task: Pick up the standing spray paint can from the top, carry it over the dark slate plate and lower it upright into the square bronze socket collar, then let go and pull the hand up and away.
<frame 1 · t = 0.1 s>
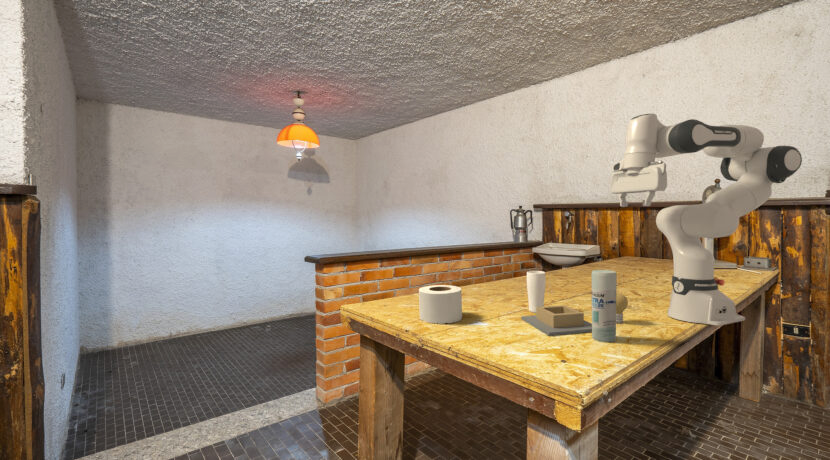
hand: (634, 206, 120), 39 cm above the table, tool pointing down, fingers open, 8 cm apart
drinking glass: (536, 311, 138), on the table
spray paint can: (603, 339, 108), on the table
toilet paper roll: (440, 318, 133), on the table
light bulb: (616, 322, 123), on the table
socket: (559, 324, 121), on the table
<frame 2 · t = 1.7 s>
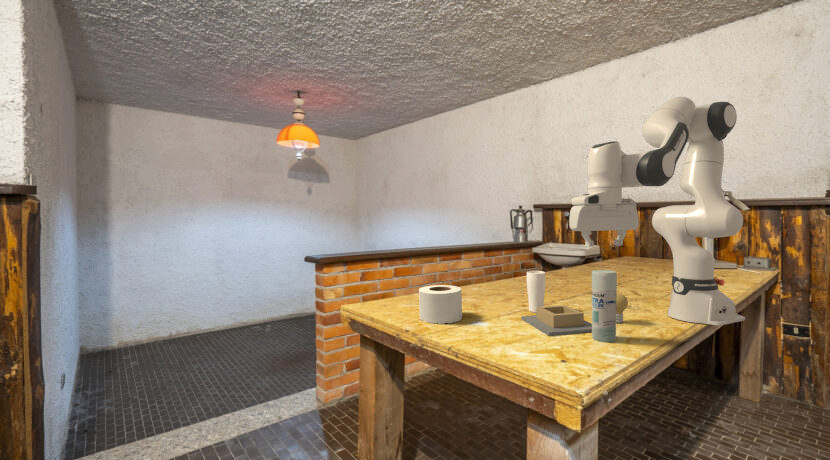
hand: (604, 246, 106), 27 cm above the table, tool pointing down, fingers open, 8 cm apart
nothing on the table moved.
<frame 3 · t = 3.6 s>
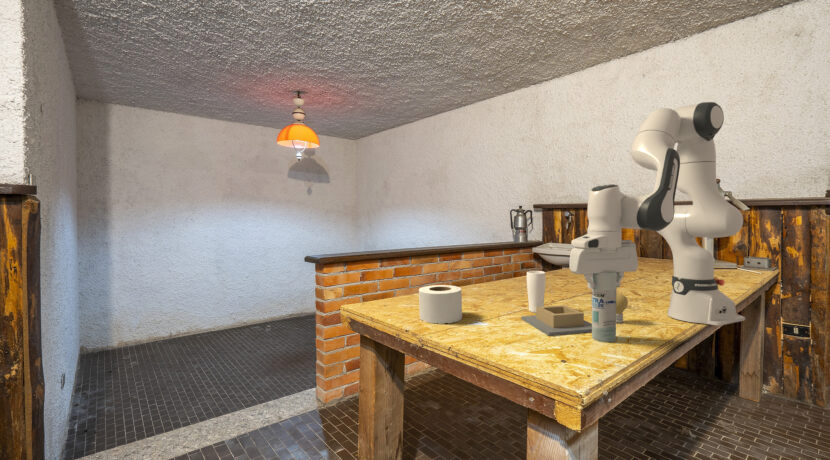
hand: (603, 287, 107), 15 cm above the table, tool pointing down, fingers closed on spray paint can, 6 cm apart
spray paint can: (603, 339, 108), on the table, touching gripper
everything else where it was.
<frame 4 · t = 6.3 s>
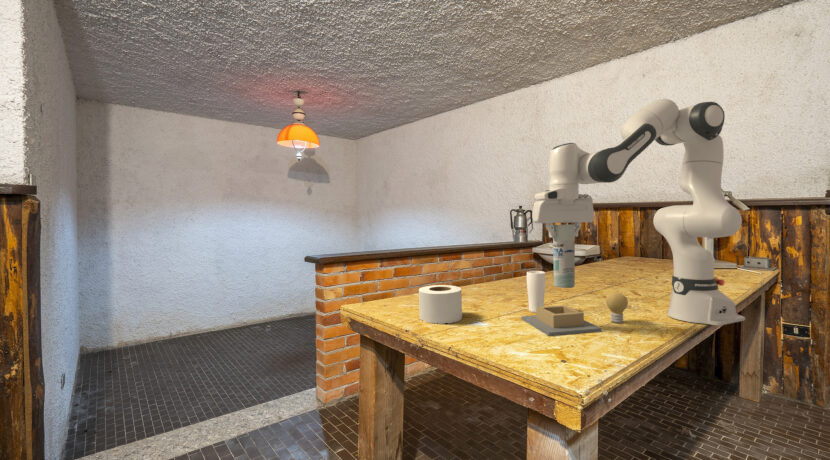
hand: (563, 237, 118), 29 cm above the table, tool pointing down, fingers closed on spray paint can, 6 cm apart
spray paint can: (564, 286, 119), point 13 cm above the table, touching gripper
everything else where it was.
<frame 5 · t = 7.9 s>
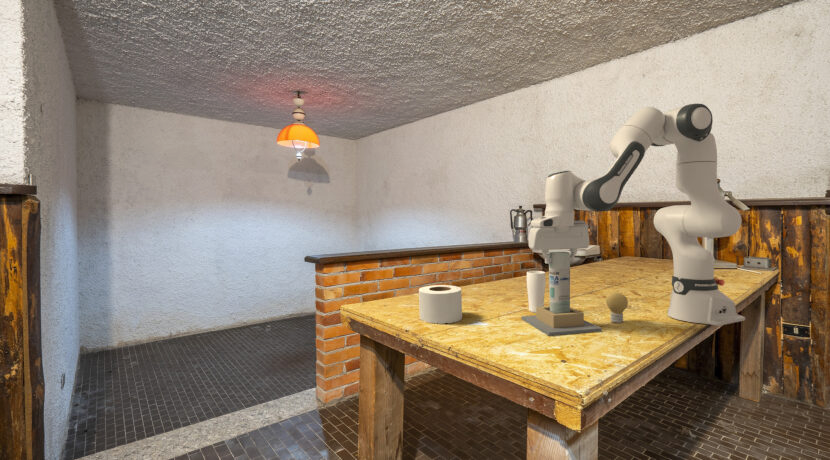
hand: (559, 262, 120), 21 cm above the table, tool pointing down, fingers closed on spray paint can, 6 cm apart
spray paint can: (559, 313, 121), point 4 cm above the table, touching gripper
everything else where it was.
when the fingers open (18 cm above the table, at t = 9.1 s): spray paint can stays where it is, resting on socket.
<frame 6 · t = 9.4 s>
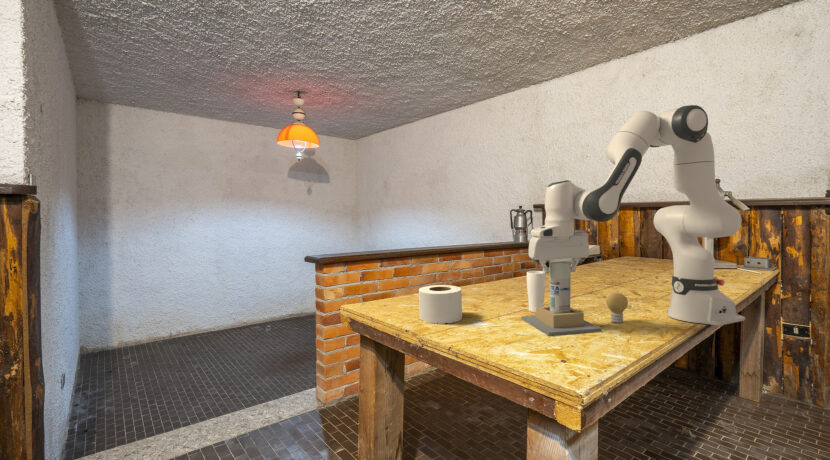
hand: (559, 272, 121), 18 cm above the table, tool pointing down, fingers open, 8 cm apart
spray paint can: (560, 322, 121), point 1 cm above the table, touching socket
everything else where it was.
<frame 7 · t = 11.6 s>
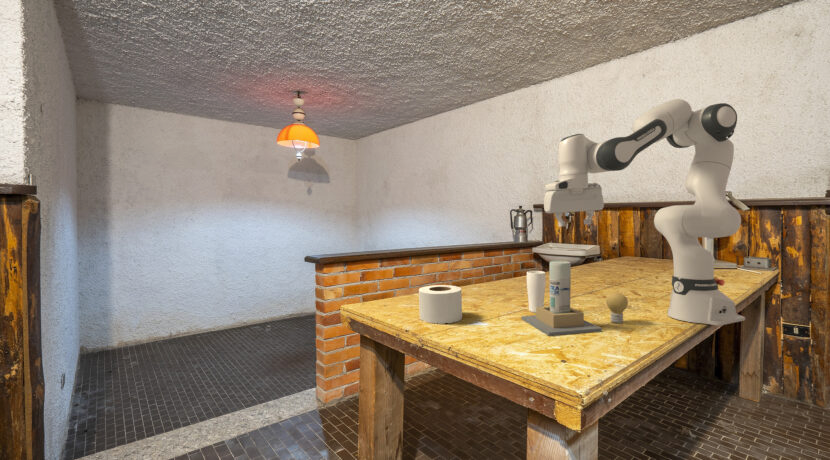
hand: (574, 225, 122), 33 cm above the table, tool pointing down, fingers open, 8 cm apart
nothing on the table moved.
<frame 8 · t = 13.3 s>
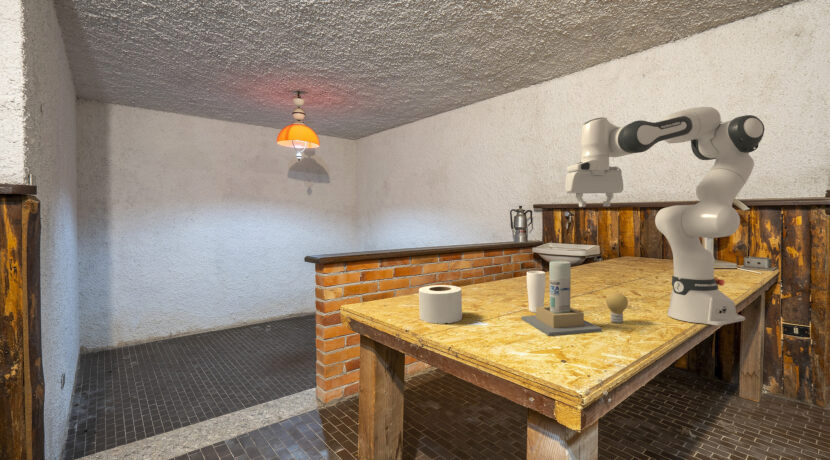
hand: (594, 206, 126), 39 cm above the table, tool pointing down, fingers open, 8 cm apart
nothing on the table moved.
at the end: spray paint can 0.3 cm off-centre on the socket, point 0.8 cm above the socket's base; spray paint can tilted 0°; the gripper is holding nothing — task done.
